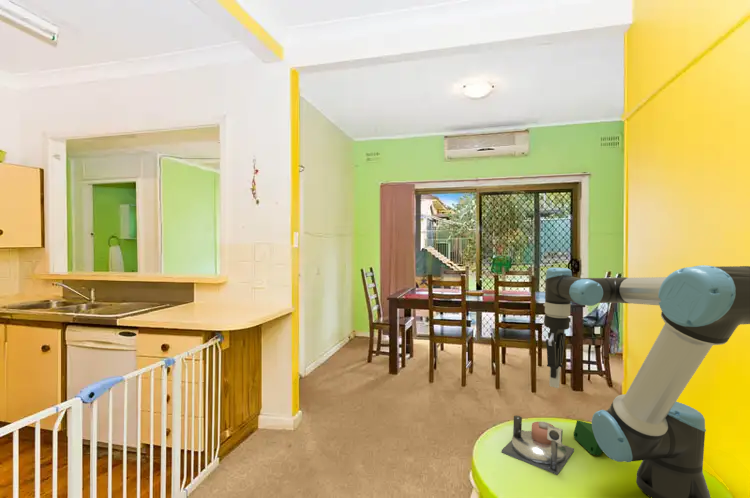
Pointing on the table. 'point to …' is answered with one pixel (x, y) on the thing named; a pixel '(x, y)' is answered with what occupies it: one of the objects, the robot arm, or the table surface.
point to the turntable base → (540, 465)
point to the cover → (540, 432)
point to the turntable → (533, 445)
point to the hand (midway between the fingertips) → (554, 386)
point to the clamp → (587, 437)
